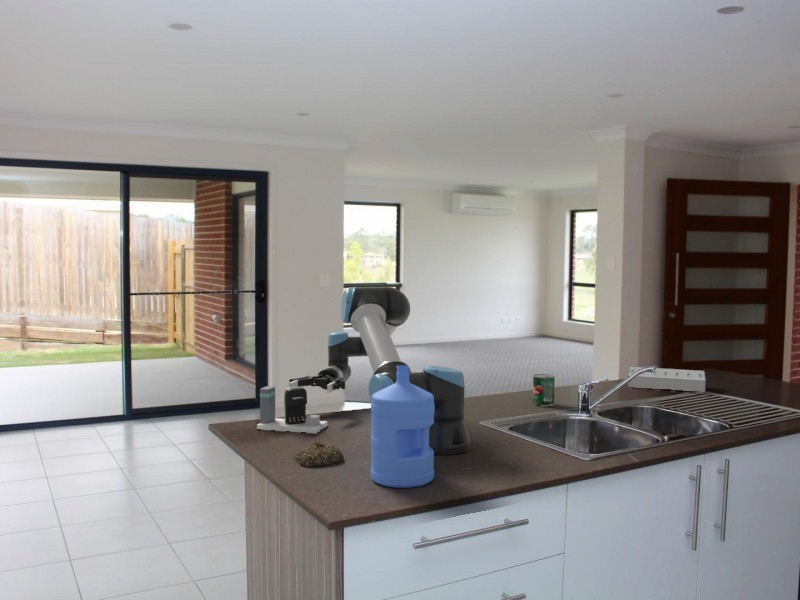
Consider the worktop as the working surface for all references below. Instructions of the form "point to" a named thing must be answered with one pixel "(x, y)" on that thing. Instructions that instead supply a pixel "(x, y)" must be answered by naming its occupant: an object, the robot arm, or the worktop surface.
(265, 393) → the mount
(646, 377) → the dotted white bar
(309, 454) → the bread roll
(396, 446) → the water jug
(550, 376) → the canned tomato
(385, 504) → the worktop surface
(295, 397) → the battery charger
